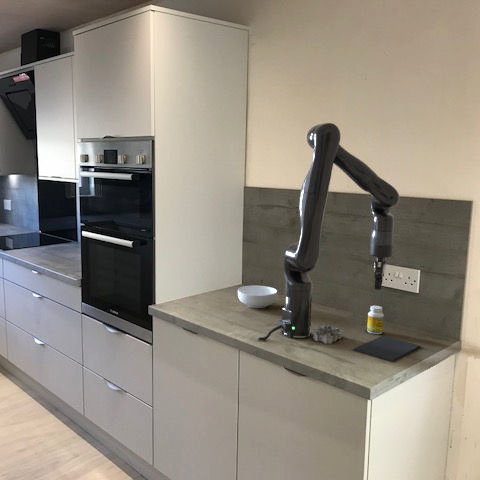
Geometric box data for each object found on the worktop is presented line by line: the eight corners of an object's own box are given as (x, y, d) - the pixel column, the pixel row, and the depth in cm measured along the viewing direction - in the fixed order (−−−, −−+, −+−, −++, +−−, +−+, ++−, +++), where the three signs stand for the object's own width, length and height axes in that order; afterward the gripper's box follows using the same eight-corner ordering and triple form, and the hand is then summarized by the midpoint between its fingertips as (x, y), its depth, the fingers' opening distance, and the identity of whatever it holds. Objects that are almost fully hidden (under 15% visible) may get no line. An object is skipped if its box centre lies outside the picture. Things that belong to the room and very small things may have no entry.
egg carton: (328, 345, 180) (329, 333, 179) (309, 339, 185) (310, 328, 185) (344, 338, 187) (345, 327, 186) (325, 332, 192) (326, 322, 192)
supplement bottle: (372, 328, 197) (374, 304, 196) (385, 333, 193) (387, 307, 191) (363, 331, 194) (365, 306, 193) (376, 335, 190) (378, 310, 188)
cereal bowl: (248, 298, 238) (248, 283, 237) (282, 304, 228) (283, 288, 227) (230, 306, 224) (230, 290, 223) (266, 313, 215) (267, 297, 214)
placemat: (392, 361, 166) (392, 360, 166) (354, 350, 175) (354, 348, 175) (420, 347, 179) (420, 345, 178) (383, 337, 188) (383, 335, 188)
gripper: (371, 239, 197) (368, 281, 199) (369, 245, 184) (365, 290, 186) (393, 240, 193) (390, 283, 196) (392, 246, 181) (388, 292, 183)
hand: (378, 286), depth 191 cm, fingers open, 8 cm apart
